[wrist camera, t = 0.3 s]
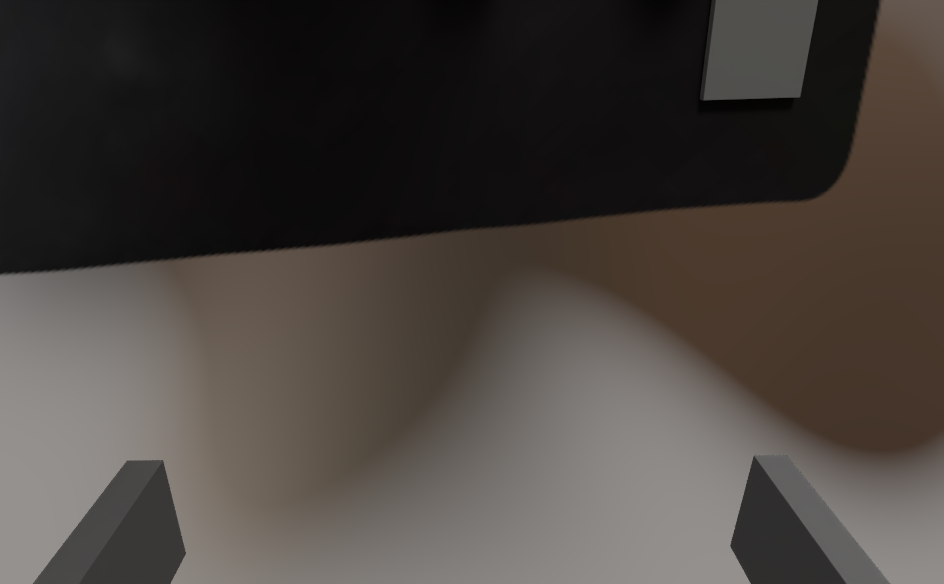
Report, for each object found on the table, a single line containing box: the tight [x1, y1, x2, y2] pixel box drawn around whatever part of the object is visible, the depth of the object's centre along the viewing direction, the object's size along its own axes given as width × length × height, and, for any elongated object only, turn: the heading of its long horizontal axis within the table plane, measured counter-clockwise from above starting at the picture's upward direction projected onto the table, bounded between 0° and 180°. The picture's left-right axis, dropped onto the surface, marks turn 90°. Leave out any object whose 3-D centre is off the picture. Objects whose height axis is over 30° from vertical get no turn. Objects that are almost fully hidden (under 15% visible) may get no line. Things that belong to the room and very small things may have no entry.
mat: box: [700, 0, 818, 100], centre depth 34 cm, size 10×6×1 cm, turn 2°
